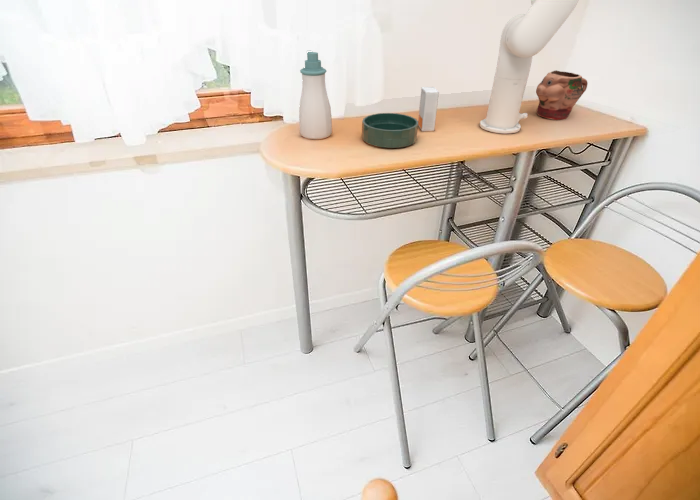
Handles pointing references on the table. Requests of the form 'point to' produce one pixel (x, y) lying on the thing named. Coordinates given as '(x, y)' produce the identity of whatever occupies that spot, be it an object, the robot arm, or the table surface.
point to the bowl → (389, 130)
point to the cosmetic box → (428, 108)
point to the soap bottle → (314, 101)
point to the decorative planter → (559, 94)
